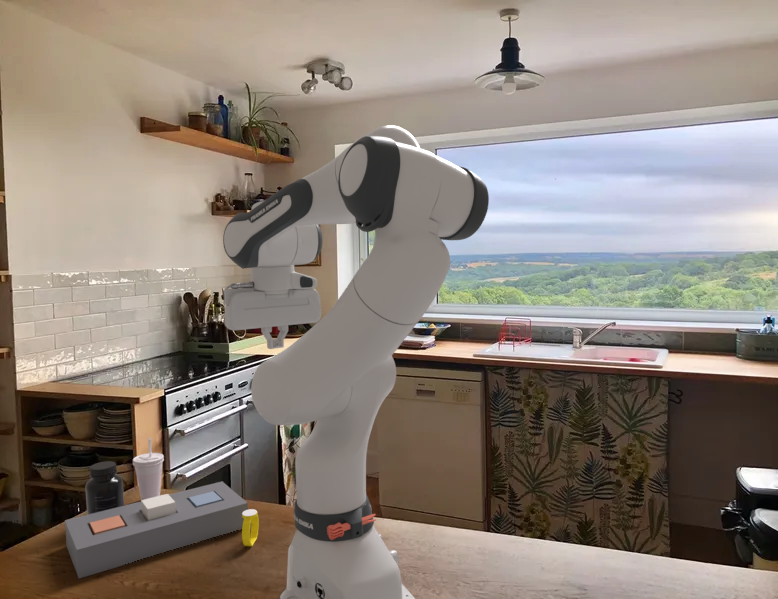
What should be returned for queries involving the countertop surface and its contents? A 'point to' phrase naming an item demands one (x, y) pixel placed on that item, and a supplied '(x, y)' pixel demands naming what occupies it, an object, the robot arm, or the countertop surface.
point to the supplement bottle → (104, 488)
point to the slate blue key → (204, 499)
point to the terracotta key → (106, 525)
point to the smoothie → (149, 473)
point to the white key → (158, 507)
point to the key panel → (151, 530)
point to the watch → (249, 519)
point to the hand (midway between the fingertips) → (275, 348)
